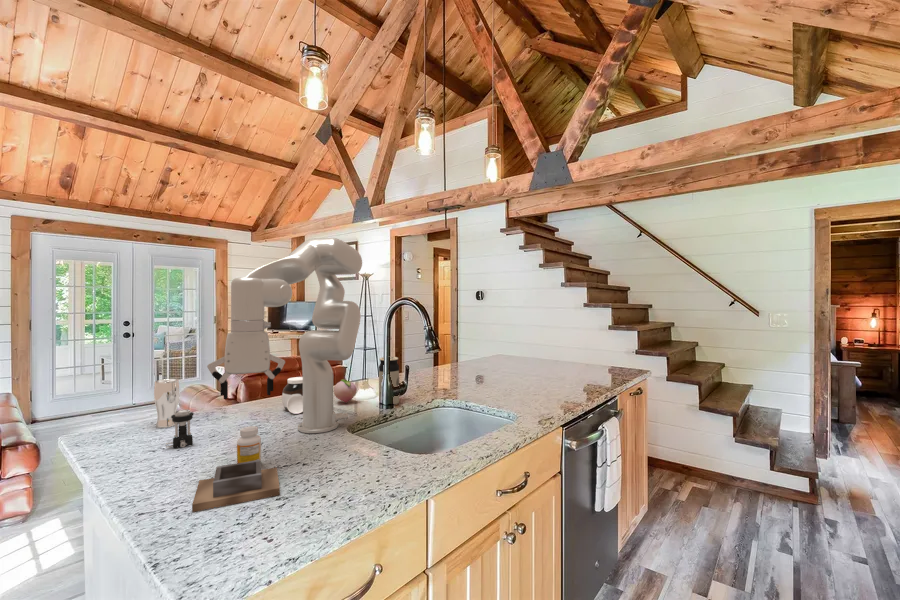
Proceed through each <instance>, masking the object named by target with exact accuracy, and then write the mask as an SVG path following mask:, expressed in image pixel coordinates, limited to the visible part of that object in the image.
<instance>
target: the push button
mask: <svg viewBox="0 0 900 600" xmlns="http://www.w3.org/2000/svg"><path fill="white" fill-rule="evenodd" d="M193 416H194V412H191V410H190V409H179V410H177V411H176V412H175V414H174V415H172V416H171V418H172V421H173V422H175V426H174V427H175V428H174V429H175V430H174V431H175V433H174V435H173V438H172V441H171V442H166V443H165V445H166V446H165V448H173V449H178V448H177V447H179V448H185V447H187V446H186V445H192V446H193V445H194V444H193V443H194V442H193V441H194V440H193V439H194V438H193V434H192V432H191V420H192V419H193V418H194V417H193ZM171 444H172V445H171ZM167 445H168V446H167Z"/></svg>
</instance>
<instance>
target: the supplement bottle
mask: <svg viewBox="0 0 900 600" xmlns="http://www.w3.org/2000/svg"><path fill="white" fill-rule="evenodd" d="M258 429H259V428H258V426H254V425H252V426H245V427H242V428H241V429H240V430H239V436H240V437H239V438H238V439H237V441H236V464H237V463H243V462H249V461H255V460H261V461H262V437H261V436H260V435H259V434H258V433H259V430H258Z"/></svg>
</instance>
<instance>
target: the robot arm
mask: <svg viewBox="0 0 900 600" xmlns="http://www.w3.org/2000/svg"><path fill="white" fill-rule="evenodd" d="M362 267H363V259H362V256H361V254H360V252H359V251H358V249H355V248H354V247H353V246H351V245H350V244H349V243H347V242H345V241H344V240H342V239H340V238H335V237H326V238H325V237H324V238H323V237H322V238H321V237H320V238H311V239H310V238H309V239H307V240H305V241H304V242H302V243H301V244H300V245H299V246H297V247H296V248H295V249H293V251H291V252H290V253H289V254H288V255H286V256H284V257H281V258H280V259H279V258H278V259H277V260H274V261H271V262H270V263H266V264H264V265H262V266H259V267H257V268H255V269H254V270H252V271H250V272H249V273H248V274H247V275H245V276H244V277H235V278H234V279H233V278H232V281H231V285H230V332H227V334H226V340H225V348H224V356H222V357H220V358H217V360H214V361H212V362H210V363H208V364H207V366H206V367H207V370H208V371H209V373H211V376H212V377H213V378H215V379H216V380H217V381H218V382H219V383H220V396H223V400H227V399H228V396H229V395H228V393H229V392H228V390H229V389H228V388H229V387H228V386H229V383H228V378H229V377H230V376H231V375H242V374H244V375H247V374H258V373H260V374H261V373H264V374H265V375H266V376H267V378H266V381H267V382H266V394H267V396H271V392H274V380H275V378H276V377H277V376H278V375H279V374H280V373H281V371H282V370H283V368H284V365H285V364H286V360H285V359H283V358H280V357H279V356H276V355H273V354H271V352H270V351H271V350H270V349H271V348H270V338H269V333H268V332H267V331H265V329H268V328H271V327H272V324H271V322H270V321H269V322H268V321H266V320H265V307H266V308H278V307H282V306H283V307H284V306H285V305H287V304H288V303H289V302H290V301H291V299H292V296H293V289H292V287H291V285H293V284H296V283H300V282H303V281H305V280H306V279H308V278H309V277H310V275H311V274H313V273H314V272H315V275H316V278H317V280H318V283H319V290H318V295H317V298H316V301H315V303H314V304H315V305H314V308H313V312H312V318H311V320H312V324H313V326H314V327H316V328H318V329H319V330H318V329H317V330H316V329H315V330H309V331H306V332H305V333H303V334H302V335H301V336H300V338H299V341H298V350H299V355H300V359H301V371H302V377H303V412H302V422H300V423H299V424H298V425H297V430H298V432H300V433H303V434H319V433H327V432H330V431H333V430H335V429H337V428H338V427H339V421H340V420H344V421H345V420H349V413H348V412H346V413H343V412H339V413H336V411H335V410H334V370H333V368H332V366H331V364H330V362H329V361H340V362H341V361H346V360H348V359H350V358H351V356H353V352H354V350H355V346H356V342H357V337H358V333H359V329H360V324H361V318H362V317H361V309H360V307H359V305H358V304H357V303H356V302H354V301H352V300H351V301H350V300H344V298H345V287H344V286H343V283H342V282H341V280H339V278H338V277H337V276H338V275H339V276H340V275H341V276H344V275H345V276H346V275H348V276H349V275H350V276H351V275H356V274H358V273H359V272H360V271H361V269H362ZM320 329H321V330H320ZM271 361H272V362H274V363H277V366H276V367H275V368H274V369H273V370H271V369H270V367H271ZM222 364H224V373H223V374H221V373H220V372H219V371H218V370H217V367H218V366H220V365H222Z"/></svg>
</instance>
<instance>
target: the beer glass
mask: <svg viewBox="0 0 900 600" xmlns="http://www.w3.org/2000/svg"><path fill="white" fill-rule="evenodd" d="M153 397H154V398H153V399H154V405H155V409H156V415H157V419H156V424H155V427H156V428H157V429H169V428H173V427H175V422H173V421H172V418H171V416H172V415H174V414H175V412H176V411H178V407H179V400H180V382H179V379H178V378H164V379H159V380H155V381H154V390H153ZM168 417H169V418H168ZM172 426H173V427H172Z"/></svg>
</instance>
